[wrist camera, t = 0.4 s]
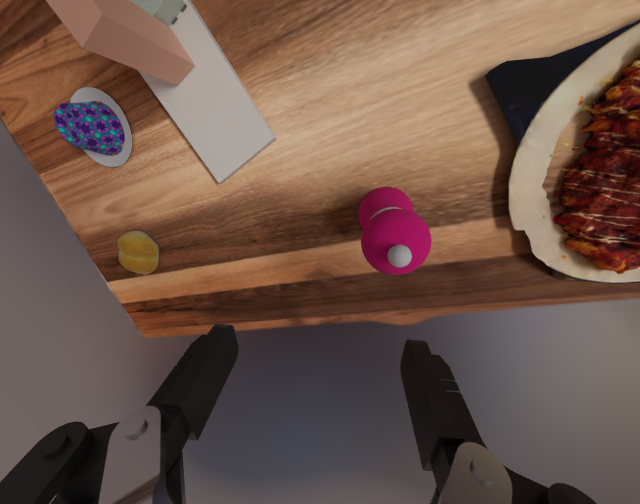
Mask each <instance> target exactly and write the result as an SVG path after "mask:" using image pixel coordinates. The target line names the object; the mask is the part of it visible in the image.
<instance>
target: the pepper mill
mask: <svg viewBox="0 0 640 504" xmlns="http://www.w3.org/2000/svg"><path fill="white" fill-rule="evenodd" d="M358 217H359V222H360V225H361V227H362V229H363V233H362V238H361V246H362V251H363V254H364V256H365V258H366V260H367V261H368V262H369V263H370V265H371V266H372V267H374V268H375V269H377V270H378V271H380V272H382V273H386V274H391V275H401V274H406V273H409V272H412V271H413V270H415V269H417V268H418V267H419V266H420V265H422V263H423V262H424V261H425V260H426V258H427V256H428V254H429V252H430V248H431V234H430V231H429V228H428V226H427V225H426V223H425V222H424V221H423V219H422V218H421V217H419V216H418V215H417V214H415V213H414V212H413V206H412V203H411V201H410V199H409V198H408V196H407V195H406V194H405V193H404V192H402V191H401V190H399V189H396V188H393V187H381V188H378V189H375V190H373V191H372V192H370V193H369V194H368V195H367V196H366V197H365V198H364V199H363V201H362V202H361V204H360V207H359V212H358Z"/></svg>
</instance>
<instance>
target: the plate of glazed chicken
mask: <svg viewBox="0 0 640 504" xmlns="http://www.w3.org/2000/svg"><path fill="white" fill-rule="evenodd" d="M485 77H486V79H487V81H488V83H489V85H490V87H491V89H492V91H493V93H494V95H495V97H496V98H497V100H498V102H499V105H500V107H501V109H502V111H503V113H504V116H505V118H506V120H507V122H508V125H509V127H510V129H511V131H512V133H513V135H514V137H515V140H516V155H515V158H514V161H513V164H512V168H511V172H510V176H509V183H508V185H509V190H508V197H509V214H510V217H511V221H512V225H513V227H514V229H515V230H524V231H525V232H526V234H527V236H528V237H529V239H530V243H531V248H532V252H533V254H534V255H535V256H536V257H537V258H538V259H540V260H541V261H543V262H544V263H545V264H546V265H547V266H548V267H549V268H550V270H551V274H552V276H553V277H555V278H557V279H561V280H575V281H591V282H600V283H617V284H620V283H640V20H638V21H636V22H635V23H633V24H631V25H628V26H626V27H624V28H622V29H620V30H617V31H615V32H613V33H611V34H608V35H606V36H604V37H602V38H600V39H597V40H594V41H592V42H589V43H586V44H584V45H581V46H578V47H575V48H573V49H570V50H567V51H565V52H562V53H559V54H556V55H554V56H551V57H544V58H534V59H523V60H513V61H506V62H504V63H502V64H500V65H498V66H496V67H495V68H494V69H492V70H491V71H489V72H488V73H487V74H486V75H485ZM603 93H604V94H603ZM592 101H596V102H595V103H594V104H592V105H591V103H592ZM597 101H598V102H597ZM584 110H585V111H587V112H589V113H590V115H591V116H592V117H593V118H592V120H591V122H589V124H587V125H585V126H583V127H582V129H581V133H586V132H588V133H590V137H589V138H588V139H587V140H586V142H585V144H584V147H585V148H587V150H588V152H587V153H585V154H583V155H582V156H581V157H580V158H579V159H578V160H576V161H575V162H574V163H573V165H571V166H570V167H566V168H563V169H562V170H563V171H566V174H565V175H564V176H563V178H564V180H563V181H562V182H563V184H562V186H561V187H560V191H559V192H557V191H556V192H554V196H559V199H560V203H561V205H562V206H563V207H564V209H565V210H564V212H563V213H561V214H559V215H557V216H556V213H554V212H552V211H551V209H550V206H549V204H550V201H549V200H548V199H547V198H546V195H547V193H546V191H545V190H543V187H542V184H543V182H544V179H545V177H546V174H547V168H548V166H549V164H550V160H551V158H552V156H553V151H554V148H555V144H556V141H557V140H558V137H559V135H560V133H561V132H562V130H563V129H564V127H565V126H566V125H567V124H568V123H569V122H570V120H571V119H572V118H573V117H574V116H575V115H576V114H577V113H579V112H580V111H584ZM562 145H568V144H567V143H566V142H562ZM575 149H580V146H576V147H575V148H573V149H572V150H575ZM556 183H558V182H556ZM557 193H558V194H557Z"/></svg>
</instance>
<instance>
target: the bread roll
mask: <svg viewBox="0 0 640 504" xmlns="http://www.w3.org/2000/svg"><path fill="white" fill-rule="evenodd" d="M117 244H118V247H119V249H120V252H119V261H120V263H121V264H122V265H123V267H124V268H126V269H128V270H130V271H132V272H136V273H139V274H148V273H151V272H153V271H154V270H155V269H156V268H157V266H158V263H159V247H158V245H157V244H156V243H155V242H154V240H152V239H151V238H150V237H149V236H148V235H147V234H146V233H144V232H141V231H131V232H127V233H124V234H123V235H122V236H121V237H120V238H119V240H118V242H117Z"/></svg>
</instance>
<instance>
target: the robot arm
mask: <svg viewBox="0 0 640 504" xmlns="http://www.w3.org/2000/svg"><path fill="white" fill-rule="evenodd" d="M238 350H239V349H238V343H237V339H236V335H235V330H234V327H233V326H232V325H224V324H215V325H214V326H213V327H212V329H211V330H210V332H209V333H208V335H202V336H200V337H199V338H198V339H197V340H195V341H194V342H193V343H192V344H191V345H190V347H189V348H188V349H187V351H186V352H185V353H184V356H182V357H181V359H180V360H179V362H178V363H177V365H176V366H175V367H174V368H173V370H172V371H171V372H170V374H169V375H168V377H167V378H166V379H165V381H164V382H163V384H162V385H161V386H160V388H159V389H158V390H157V392H156V393H155V394H154V396H153V397H152V399H151V400H150V401H149V402H148V404H147V405H146V406H144V407H141V408H139V409H136V410H134V411H133V412H131V413H130V414H128V415H127V416H126V417H125V418H123V419H122V420H121V421H120V422H117V423H113V424H109V425H105V426H101V427H97V428H93V429H88V428H87V427H86V426H85V424H84V423H82V422H71V423H67V424H65V425H63V426H60V427H58V428H57V429H55V430H53V431H52V432H50V433H49V434H47V435H46V436H45V437H44V438H42V439H41V440H40V441H39V442H38V443H37V444H36V445H35V446H34V447H33V448H32V449H31V450H30V451H29V452H28V453H27V454H26V456H24V458H23V459H22V460H21V461H20V462H19V463H18V464H17V465H16V466H15V467H14V468H13V469H12V470H11V471H10V472H9V473H8V475H7V476H6V477H5V478H4V479H3V480H2V481H1V482H0V504H49V503H50V502H51V500H52V499H53V498H54V496H55V495H56V497H55V498H54V500H53V501H52V502H51V504H186V496H185V479H184V466H183V465H184V463H183V451H182V449H183V447H184V445H185V443H186V441H187V439H191V440H198V439H199V437H200V435H201V433H202V431H203V428H204V426H205V424H206V422H207V420H208V418H209V416H210V414H211V412H212V410H213V408H214V406H215V404H216V401H217V399H218V397H219V395H220V393H221V391H222V389H223V387H224V385H225V383H226V381H227V378H228V376H229V374H230V372H231V370H232V368H233V366H234V364H235V362H236V359H237V356H238ZM400 370H401V377H402V381H403V386H404V390H405V395H406V399H407V403H408V408H409V412H410V416H411V420H412V425H413V429H414V433H415V437H416V442H417V447H418V451H419V455H420V460H421V464H422V468H423V470H426V471H433V474H434V477H435V481H436V486H435V489H434V492H433V495H432V498H431V501H430V504H597V503H595V502H594V501H593V500H592V499H591V498H590V497H588V496H587V495H586V494H584V493H583V492H581V491H580V490H578V489H576V488H574V487H572V486H570V485H567V484H563V483H555V484H553V485H551V487H549V488H547V487H545V486H543V485H540V484H538V483H536V482H534V481H532V480H530V479H527V478H526V477H524V476H521V475H519V474H517V473H515V472H513V471H511V470H510V469H508V468H507V467H505V466H504V465H503V464H502V463H501V462H500V461H499V460H498V458H497V457H496V456H495V455H494V454H493V453H492V452H490V451H489V450H488V449H487V447H486V446H485V444H484V443H483V441H482V439H481V437H480V435H479V432H478V430H477V428H476V426H475V423H474V421H473V419H472V417H471V414H470V412H469V410H468V408H467V406H466V403H465V401H464V399H463V397H462V395H461V394H460V390H459V388H458V385H457V383H456V382H455V379H454V376H453V374H452V372H451V370H450V367H449V366H448V365H447V364H446V363H445V362H444V360H443V359H442V358H441V357H440V356H439V355H431V352H430V349H429V347H428V344H427V343H426V342H425V341H418V340H406V343H405V347H404V351H403V355H402V359H401V364H400Z"/></svg>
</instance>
